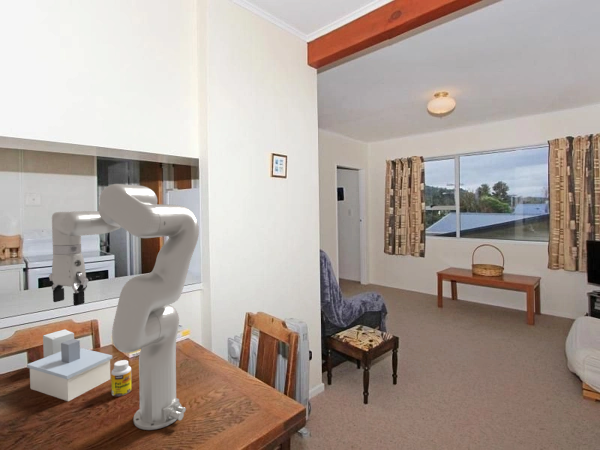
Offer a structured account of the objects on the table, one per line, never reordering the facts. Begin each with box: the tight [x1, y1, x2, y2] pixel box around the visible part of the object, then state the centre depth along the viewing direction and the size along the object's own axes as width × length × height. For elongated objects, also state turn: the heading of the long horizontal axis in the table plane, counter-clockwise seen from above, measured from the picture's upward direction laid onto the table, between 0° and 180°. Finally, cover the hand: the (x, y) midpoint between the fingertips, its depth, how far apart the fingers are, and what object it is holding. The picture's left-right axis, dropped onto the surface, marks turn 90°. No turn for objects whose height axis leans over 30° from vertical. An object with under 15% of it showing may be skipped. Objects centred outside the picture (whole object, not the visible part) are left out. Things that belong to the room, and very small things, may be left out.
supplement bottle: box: [110, 359, 132, 397], centre depth 105 cm, size 6×6×10 cm
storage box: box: [29, 359, 111, 402], centre depth 109 cm, size 18×14×8 cm
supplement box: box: [42, 329, 75, 358], centre depth 122 cm, size 7×7×13 cm
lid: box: [26, 338, 113, 379], centre depth 109 cm, size 19×15×7 cm
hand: (68, 302), depth 108 cm, fingers open, 9 cm apart
